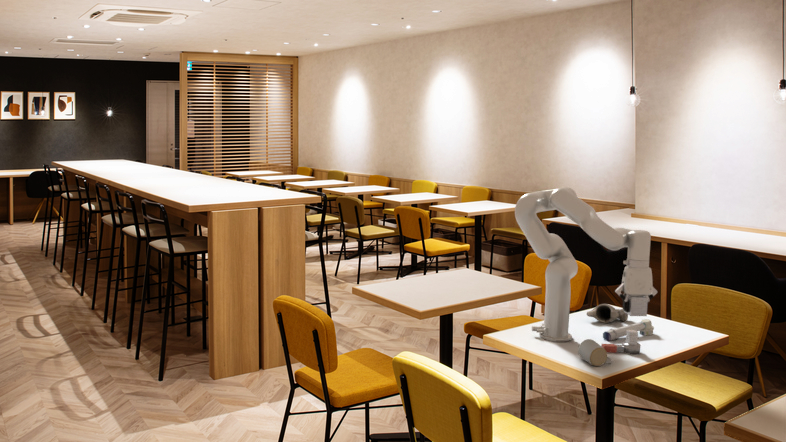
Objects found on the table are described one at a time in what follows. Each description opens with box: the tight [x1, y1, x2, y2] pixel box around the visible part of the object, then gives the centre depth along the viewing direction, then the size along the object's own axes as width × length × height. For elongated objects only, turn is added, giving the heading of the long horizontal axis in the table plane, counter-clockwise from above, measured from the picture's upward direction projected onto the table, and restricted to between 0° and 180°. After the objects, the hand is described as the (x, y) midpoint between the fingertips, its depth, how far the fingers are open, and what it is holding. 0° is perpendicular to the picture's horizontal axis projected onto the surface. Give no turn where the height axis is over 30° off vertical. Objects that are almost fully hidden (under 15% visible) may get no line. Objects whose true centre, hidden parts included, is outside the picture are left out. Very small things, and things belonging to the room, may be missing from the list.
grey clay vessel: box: [586, 303, 629, 324], centre depth 265 cm, size 16×9×15 cm
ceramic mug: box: [577, 338, 613, 367], centre depth 213 cm, size 11×8×8 cm
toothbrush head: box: [602, 318, 655, 342], centre depth 244 cm, size 5×7×25 cm
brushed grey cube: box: [624, 295, 649, 317], centre depth 223 cm, size 6×6×7 cm
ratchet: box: [600, 330, 641, 356], centre depth 226 cm, size 14×6×8 cm, turn 91°
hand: (634, 311), depth 224 cm, fingers closed on brushed grey cube, 6 cm apart
